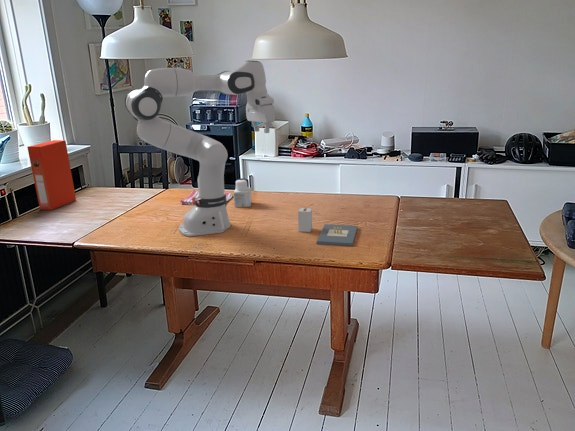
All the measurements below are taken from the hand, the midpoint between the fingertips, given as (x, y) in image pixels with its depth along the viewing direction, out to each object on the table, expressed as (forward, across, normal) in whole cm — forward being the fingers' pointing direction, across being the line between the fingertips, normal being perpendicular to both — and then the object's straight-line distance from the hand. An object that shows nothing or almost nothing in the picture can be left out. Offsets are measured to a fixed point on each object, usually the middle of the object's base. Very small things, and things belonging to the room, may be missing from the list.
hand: (262, 132), depth 220 cm
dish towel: (+37, -44, -14) cm, 59 cm away
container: (+38, -27, -2) cm, 46 cm away
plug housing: (+41, +22, +4) cm, 46 cm away
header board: (+42, +35, +11) cm, 56 cm away
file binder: (+30, -84, -80) cm, 120 cm away
